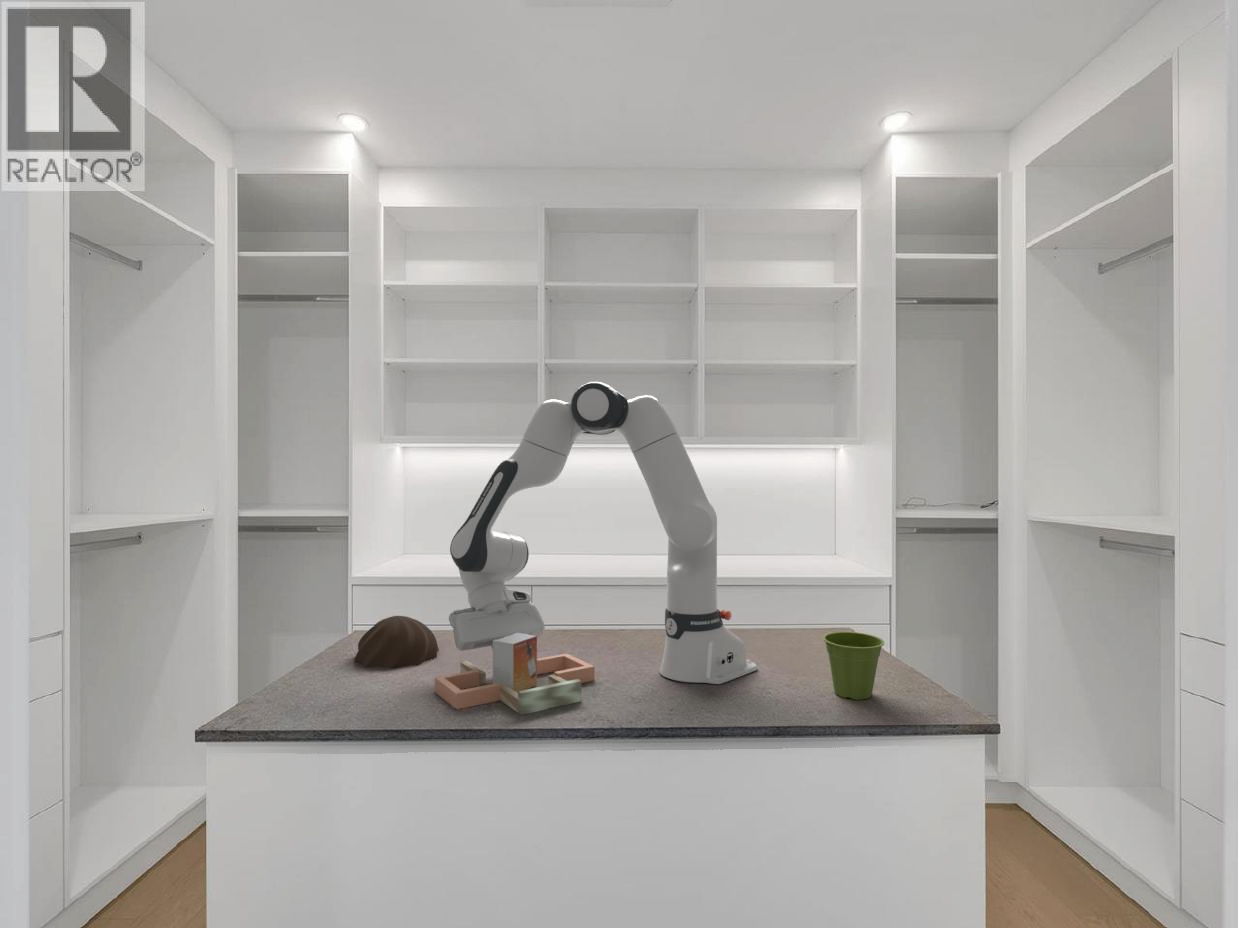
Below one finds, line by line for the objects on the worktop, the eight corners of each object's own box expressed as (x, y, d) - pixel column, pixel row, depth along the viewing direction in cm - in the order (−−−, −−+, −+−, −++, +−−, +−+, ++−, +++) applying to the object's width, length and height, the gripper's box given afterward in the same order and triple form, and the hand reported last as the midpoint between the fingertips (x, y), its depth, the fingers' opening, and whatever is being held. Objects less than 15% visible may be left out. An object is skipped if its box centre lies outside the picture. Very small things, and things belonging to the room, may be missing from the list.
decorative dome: (336, 661, 165) (335, 619, 165) (401, 642, 182) (401, 604, 182) (392, 674, 156) (392, 629, 155) (456, 652, 173) (456, 612, 172)
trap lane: (513, 663, 163) (513, 646, 163) (581, 701, 138) (581, 680, 138) (460, 673, 156) (460, 655, 156) (521, 714, 130) (521, 693, 130)
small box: (513, 696, 141) (512, 643, 140) (491, 691, 143) (491, 640, 143) (537, 685, 147) (537, 635, 147) (517, 680, 150) (517, 631, 150)
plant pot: (810, 692, 143) (810, 637, 143) (845, 681, 150) (845, 628, 150) (861, 709, 133) (862, 650, 133) (896, 696, 141) (896, 640, 140)
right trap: (566, 666, 161) (566, 653, 160) (594, 680, 151) (594, 666, 151) (531, 673, 155) (531, 659, 155) (557, 687, 146) (557, 673, 146)
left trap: (476, 683, 148) (476, 669, 148) (500, 700, 138) (500, 685, 138) (434, 691, 143) (434, 677, 143) (456, 709, 133) (456, 693, 133)
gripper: (450, 602, 150) (467, 659, 142) (535, 592, 162) (556, 644, 154) (443, 619, 154) (459, 675, 146) (527, 608, 165) (546, 659, 157)
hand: (510, 659), depth 150 cm, fingers closed
